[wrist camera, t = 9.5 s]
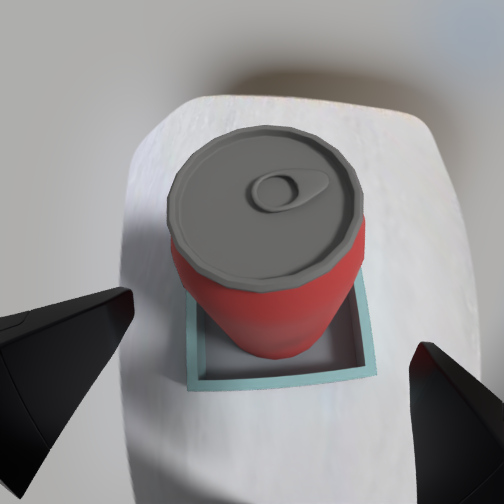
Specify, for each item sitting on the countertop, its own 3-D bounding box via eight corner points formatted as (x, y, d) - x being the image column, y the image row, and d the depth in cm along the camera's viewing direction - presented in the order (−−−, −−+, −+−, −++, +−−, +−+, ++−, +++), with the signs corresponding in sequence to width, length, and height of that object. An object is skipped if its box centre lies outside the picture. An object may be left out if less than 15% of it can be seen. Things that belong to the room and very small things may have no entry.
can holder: (365, 377, 18) (377, 375, 15) (199, 391, 18) (187, 391, 16) (342, 228, 22) (348, 209, 20) (197, 242, 23) (188, 224, 20)
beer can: (344, 340, 18) (423, 261, 7) (238, 374, 18) (169, 344, 7) (308, 245, 21) (324, 97, 10) (211, 275, 21) (140, 147, 10)
